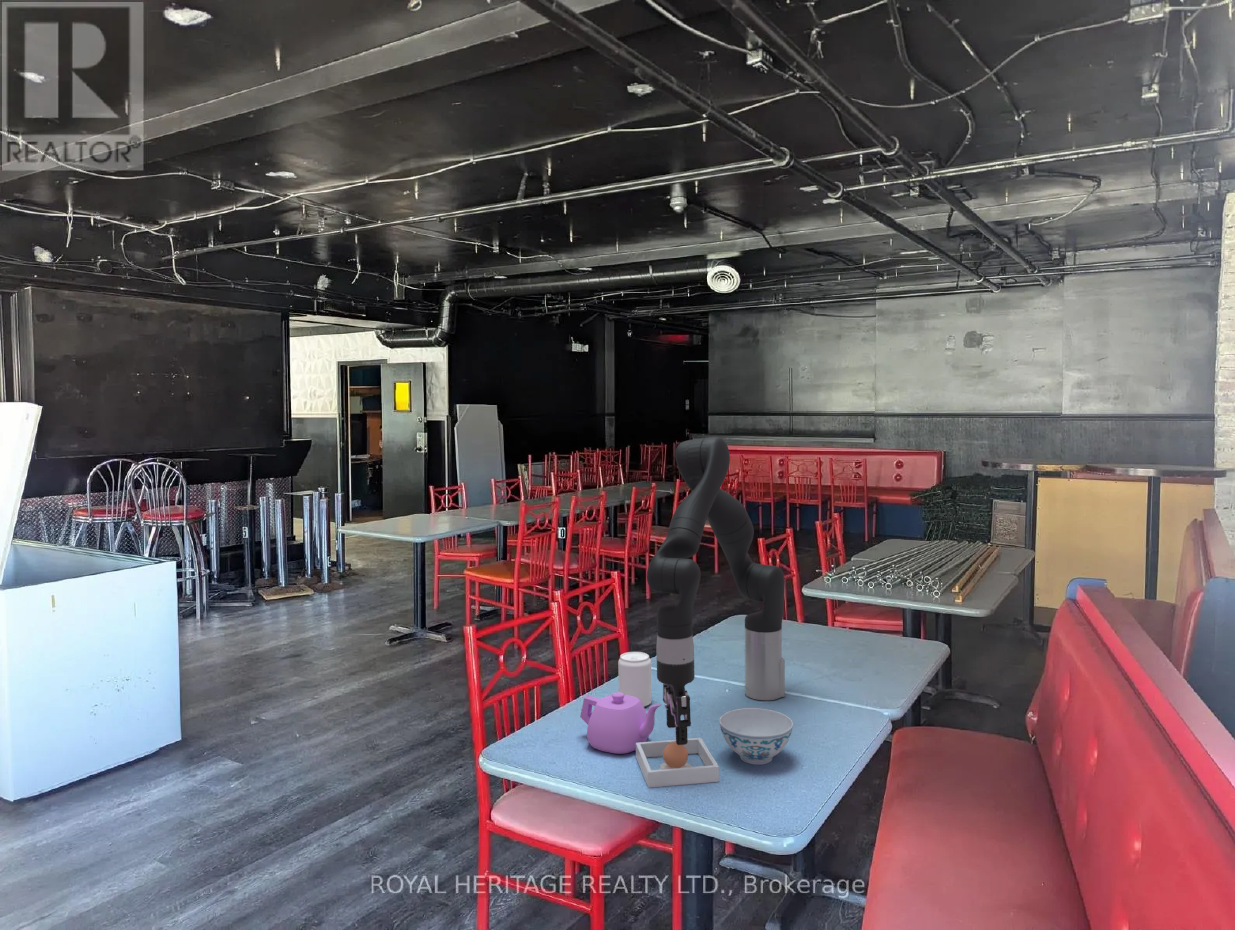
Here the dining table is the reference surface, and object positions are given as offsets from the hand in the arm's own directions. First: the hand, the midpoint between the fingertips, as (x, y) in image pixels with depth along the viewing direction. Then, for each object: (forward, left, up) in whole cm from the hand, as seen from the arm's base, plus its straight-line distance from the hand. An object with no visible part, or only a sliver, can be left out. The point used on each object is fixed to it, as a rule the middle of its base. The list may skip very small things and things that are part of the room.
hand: (676, 735), depth 160 cm
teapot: (+9, -14, -7) cm, 18 cm away
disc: (0, 0, -7) cm, 7 cm away
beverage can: (+2, -37, -7) cm, 38 cm away
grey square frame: (0, 0, -7) cm, 7 cm away
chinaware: (-17, -2, -7) cm, 19 cm away
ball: (0, 0, -7) cm, 7 cm away
